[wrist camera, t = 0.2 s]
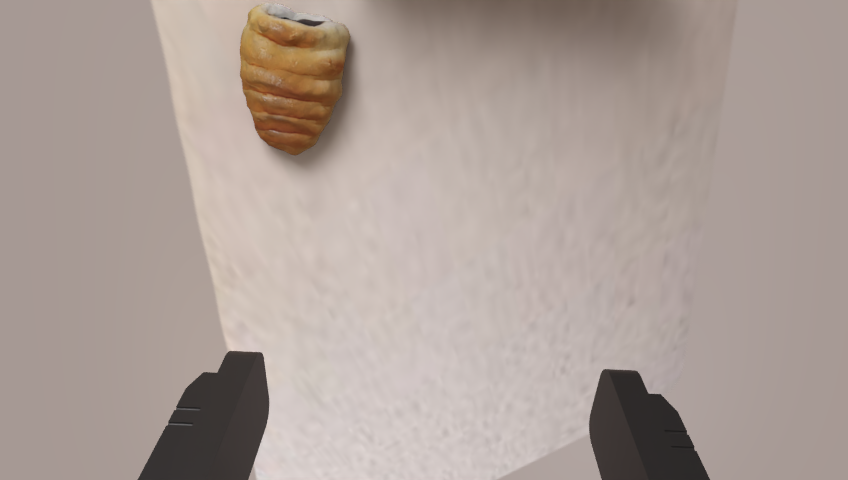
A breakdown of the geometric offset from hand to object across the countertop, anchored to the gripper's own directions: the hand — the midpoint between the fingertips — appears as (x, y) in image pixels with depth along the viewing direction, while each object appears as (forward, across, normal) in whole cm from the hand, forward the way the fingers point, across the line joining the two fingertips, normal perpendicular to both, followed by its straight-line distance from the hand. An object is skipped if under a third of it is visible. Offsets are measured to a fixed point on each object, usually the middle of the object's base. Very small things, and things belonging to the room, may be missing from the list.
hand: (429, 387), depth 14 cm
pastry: (+29, +9, 0) cm, 30 cm away
